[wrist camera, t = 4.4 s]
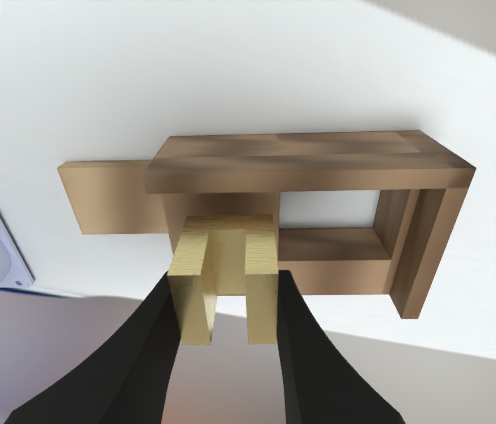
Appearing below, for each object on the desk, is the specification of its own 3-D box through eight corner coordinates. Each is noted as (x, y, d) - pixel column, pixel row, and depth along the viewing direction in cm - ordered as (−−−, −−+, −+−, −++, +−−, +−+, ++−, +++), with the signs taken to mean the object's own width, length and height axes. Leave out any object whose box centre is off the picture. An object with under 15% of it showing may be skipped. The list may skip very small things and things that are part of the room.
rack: (102, 262, 24) (66, 320, 20) (57, 139, 19) (-8, 177, 14) (385, 259, 24) (417, 318, 19) (419, 130, 18) (476, 167, 14)
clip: (197, 278, 17) (183, 344, 13) (187, 215, 14) (167, 275, 11) (271, 277, 16) (276, 343, 13) (272, 213, 14) (278, 273, 11)
